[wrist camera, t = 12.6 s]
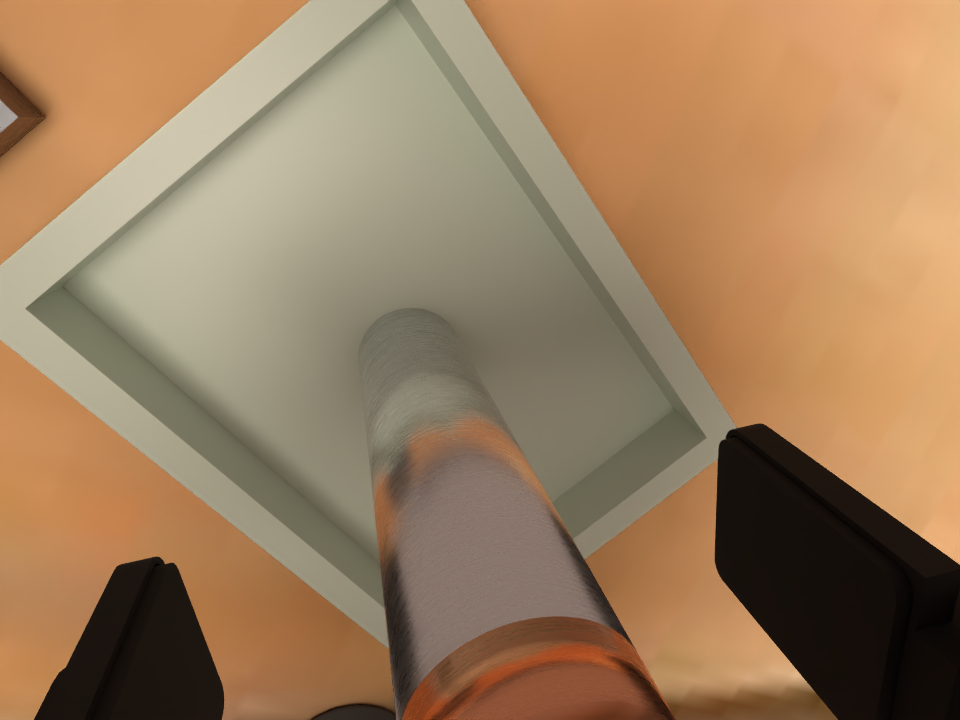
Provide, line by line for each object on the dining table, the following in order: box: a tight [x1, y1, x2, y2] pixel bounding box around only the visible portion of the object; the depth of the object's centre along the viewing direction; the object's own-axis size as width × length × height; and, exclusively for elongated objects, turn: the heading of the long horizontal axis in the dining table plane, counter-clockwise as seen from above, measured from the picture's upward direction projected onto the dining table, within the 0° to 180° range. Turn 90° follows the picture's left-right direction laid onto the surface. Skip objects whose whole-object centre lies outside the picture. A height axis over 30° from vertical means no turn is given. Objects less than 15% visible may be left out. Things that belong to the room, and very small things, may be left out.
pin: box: [359, 308, 675, 720], centre depth 13 cm, size 3×3×14 cm
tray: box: [0, 0, 737, 649], centre depth 19 cm, size 18×14×3 cm
